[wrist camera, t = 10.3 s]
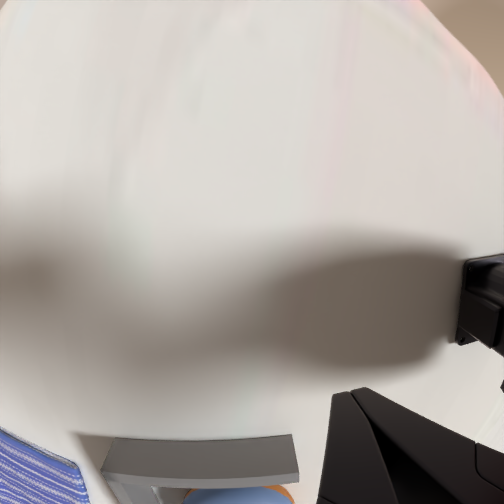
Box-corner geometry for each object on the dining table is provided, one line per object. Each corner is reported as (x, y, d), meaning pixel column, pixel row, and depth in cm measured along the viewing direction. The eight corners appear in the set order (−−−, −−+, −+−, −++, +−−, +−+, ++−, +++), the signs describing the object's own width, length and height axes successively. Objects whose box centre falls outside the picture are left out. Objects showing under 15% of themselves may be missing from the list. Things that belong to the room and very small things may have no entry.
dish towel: (8, 503, 26) (2, 514, 23) (-41, 396, 21) (-53, 408, 19) (106, 547, 27) (102, 560, 24) (83, 460, 23) (74, 480, 20)
